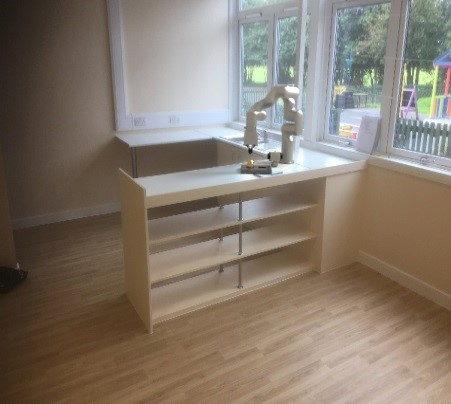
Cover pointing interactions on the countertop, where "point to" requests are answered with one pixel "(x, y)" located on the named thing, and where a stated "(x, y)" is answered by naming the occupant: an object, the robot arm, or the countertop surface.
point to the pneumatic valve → (274, 157)
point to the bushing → (249, 163)
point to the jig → (256, 169)
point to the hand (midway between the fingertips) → (250, 153)
